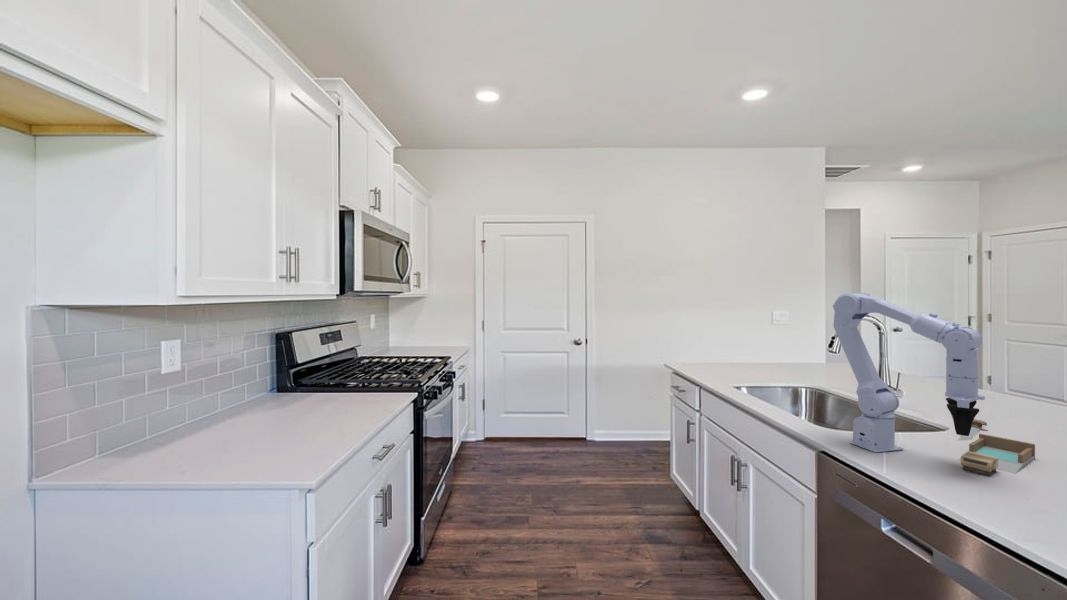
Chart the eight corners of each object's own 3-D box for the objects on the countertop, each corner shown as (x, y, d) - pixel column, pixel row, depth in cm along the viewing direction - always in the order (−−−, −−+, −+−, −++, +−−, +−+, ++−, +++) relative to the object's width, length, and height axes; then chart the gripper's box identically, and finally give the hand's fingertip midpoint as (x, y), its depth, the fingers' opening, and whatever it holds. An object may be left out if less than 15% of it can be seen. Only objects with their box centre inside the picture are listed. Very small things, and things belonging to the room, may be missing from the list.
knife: (975, 442, 128) (952, 435, 132) (974, 447, 128) (950, 440, 132) (994, 423, 143) (972, 417, 147) (992, 427, 144) (971, 422, 148)
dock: (1015, 477, 107) (1015, 458, 107) (957, 463, 116) (957, 445, 116) (1035, 461, 116) (1035, 444, 116) (980, 449, 125) (980, 433, 125)
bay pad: (1015, 462, 112) (1015, 462, 112) (974, 453, 118) (974, 453, 118) (1023, 456, 115) (1023, 456, 115) (982, 448, 122) (982, 447, 122)
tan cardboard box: (989, 477, 105) (989, 463, 105) (960, 470, 109) (960, 456, 109) (998, 471, 108) (998, 457, 108) (969, 464, 113) (969, 451, 113)
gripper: (987, 383, 102) (987, 442, 102) (982, 374, 113) (982, 427, 113) (945, 379, 107) (945, 435, 107) (944, 371, 117) (944, 422, 118)
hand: (961, 431), depth 110 cm, fingers open, 7 cm apart
